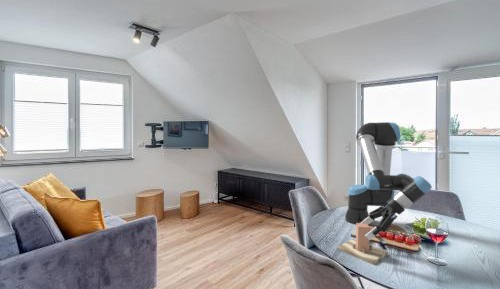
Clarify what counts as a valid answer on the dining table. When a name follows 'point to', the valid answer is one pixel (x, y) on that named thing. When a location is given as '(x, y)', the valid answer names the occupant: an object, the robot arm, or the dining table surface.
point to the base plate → (363, 252)
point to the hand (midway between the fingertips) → (364, 231)
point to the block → (362, 237)
